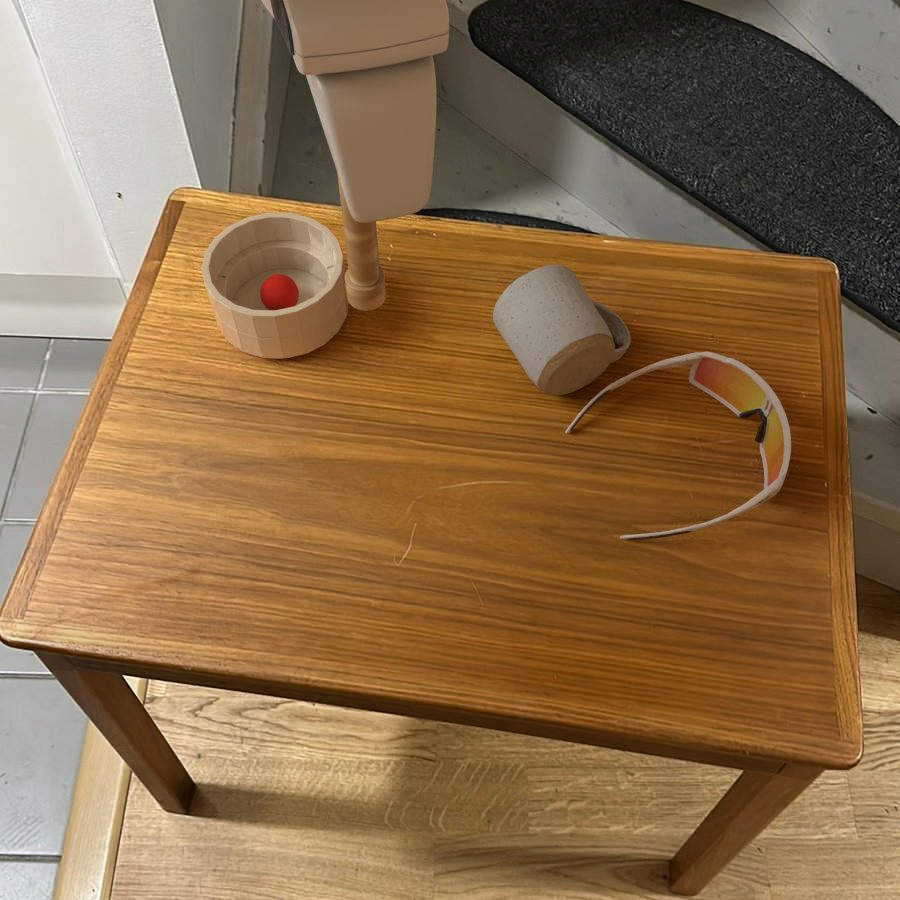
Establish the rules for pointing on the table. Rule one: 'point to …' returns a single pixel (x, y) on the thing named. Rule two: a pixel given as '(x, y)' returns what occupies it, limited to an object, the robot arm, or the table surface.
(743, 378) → the sunglasses
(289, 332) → the bowl
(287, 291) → the red ball
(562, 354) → the ceramic mug
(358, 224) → the stir stick
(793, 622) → the table surface
